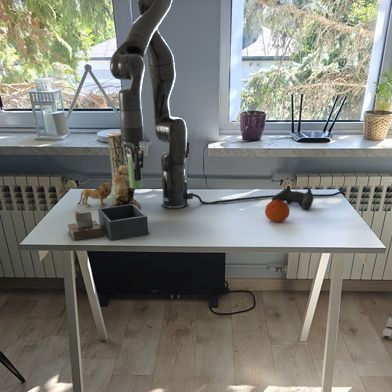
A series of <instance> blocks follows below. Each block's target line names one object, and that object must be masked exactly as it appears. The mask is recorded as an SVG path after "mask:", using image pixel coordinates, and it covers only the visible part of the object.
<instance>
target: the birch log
mask: <svg viewBox="0 0 392 392" xmlns="http://www.w3.org/2000/svg"><path fill="white" fill-rule="evenodd" d="M107 141H108V142H107V143H108V150H109V161H110V170H111V179H112V180H111V181H113V177H115V176H119V174H118V168H119V167H120V166H123V165H125V166H127V167H128V163H127V162H126V155H125V149H124V144H126V142H124V141H122V139H121V130H117V131H116V130H113V131H108V132H107Z"/></svg>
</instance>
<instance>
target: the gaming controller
mask: <svg viewBox="0 0 392 392" xmlns="http://www.w3.org/2000/svg"><path fill="white" fill-rule="evenodd" d="M313 194H314V193H313V192H312V190H311V188H308V189H307V191H306V192H302V191H297V190H291V186H290V185H288V184H287V186H286V187H285V188H284V189H283V190H281V191H279V192H278V193H276V194H274V195H275V196H273V197H272V198H271V201H274V200H276V199H278V200H282V201H284V202H285V203H287V204H291V203H295V204H298V205H300V206H301V207H302V210H304V211H308V210H310V209H311V207H312V205H313V202H314V196H313Z"/></svg>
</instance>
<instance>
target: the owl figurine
mask: <svg viewBox="0 0 392 392" xmlns="http://www.w3.org/2000/svg"><path fill="white" fill-rule="evenodd" d="M118 174H119V176H115V177H113V180H111V181H112V182H111V183H112V184H111V189H112V196H113V199H114V200H112V204H111V205H110V206H109V207H114V206H121V205H128V204H134V205H135V206H136V207H137V208H139V209H140V208H141V206H140V202H138V200H136V199H135V192H136V190H137V188H130V182H129V170H128V165H127V166H125V165H123V166H120V167H119V168H118Z"/></svg>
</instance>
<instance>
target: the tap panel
mask: <svg viewBox="0 0 392 392" xmlns="http://www.w3.org/2000/svg"><path fill="white" fill-rule="evenodd" d="M92 222H93V226H89V227H82V228H77V227H76V222H75V223H68V224H67V228H68V233H69V234H70V236H71V237H72V239H73V241H82V240H87V239H93V238H100V237H103V230H102V228H101V227H100V223H99V222H97V220H94V219H93V220H92Z"/></svg>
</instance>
